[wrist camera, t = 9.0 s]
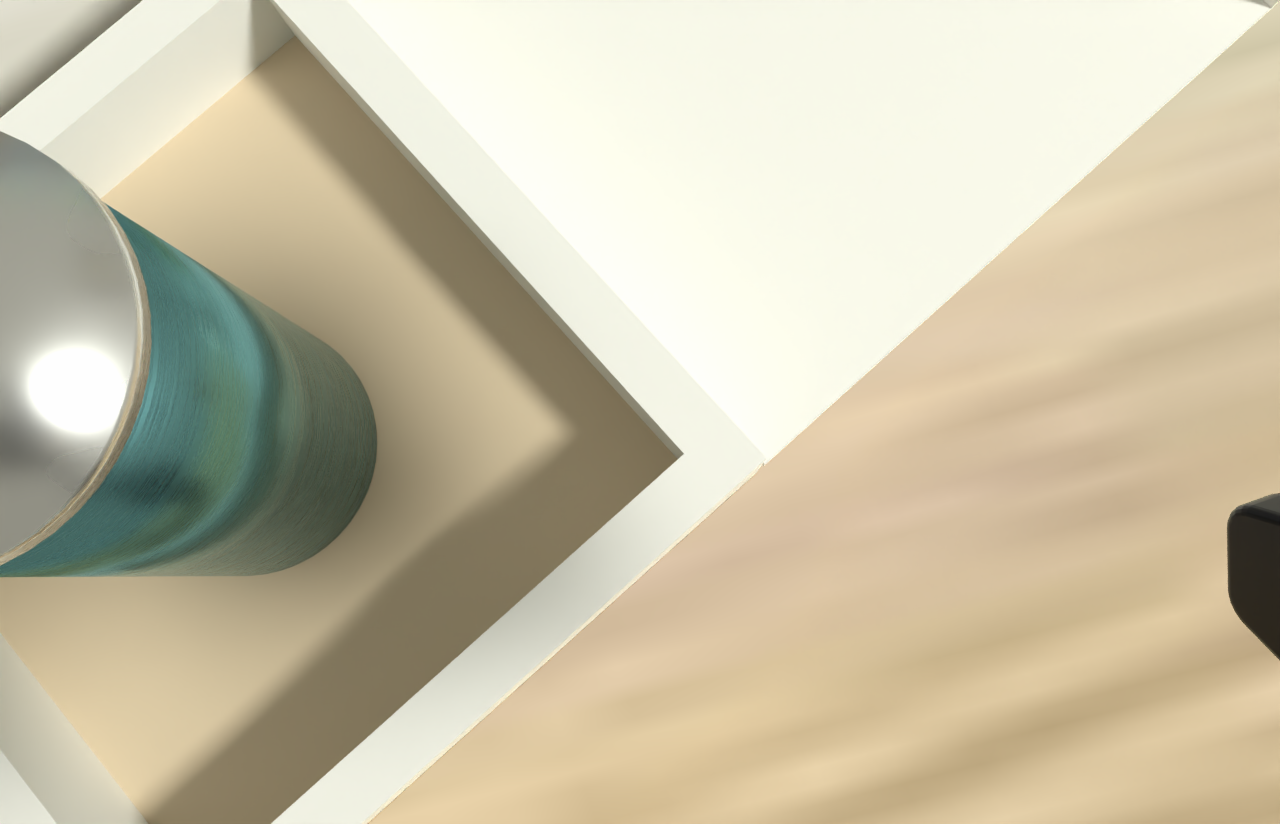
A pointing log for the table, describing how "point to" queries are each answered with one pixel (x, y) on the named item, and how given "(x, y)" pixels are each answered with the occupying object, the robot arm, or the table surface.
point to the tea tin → (156, 402)
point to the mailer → (523, 326)
